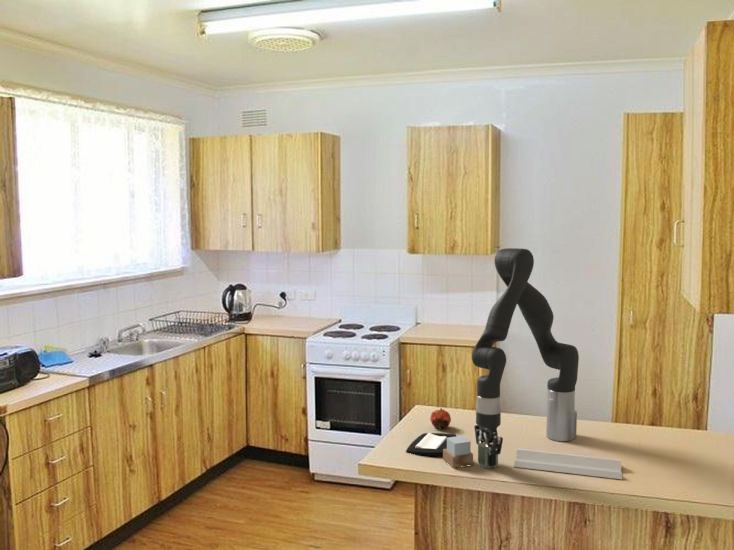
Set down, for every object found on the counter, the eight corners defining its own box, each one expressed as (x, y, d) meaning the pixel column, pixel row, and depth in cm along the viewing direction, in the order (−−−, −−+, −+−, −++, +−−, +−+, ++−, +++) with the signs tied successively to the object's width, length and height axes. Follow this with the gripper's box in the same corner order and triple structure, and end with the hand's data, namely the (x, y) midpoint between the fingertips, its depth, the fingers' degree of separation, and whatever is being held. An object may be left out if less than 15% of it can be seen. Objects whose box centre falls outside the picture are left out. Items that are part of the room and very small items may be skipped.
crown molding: (514, 469, 203) (514, 458, 202) (518, 455, 214) (518, 445, 214) (621, 481, 193) (622, 470, 192) (620, 466, 204) (620, 455, 203)
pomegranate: (450, 437, 235) (455, 414, 242) (445, 425, 231) (450, 402, 238) (431, 436, 238) (435, 414, 245) (425, 425, 234) (430, 402, 241)
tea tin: (490, 461, 207) (490, 439, 207) (498, 466, 203) (498, 444, 202) (477, 463, 206) (477, 441, 205) (485, 469, 201) (485, 446, 201)
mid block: (462, 447, 209) (462, 435, 209) (470, 453, 204) (470, 441, 204) (446, 449, 208) (446, 437, 207) (454, 456, 202) (454, 443, 202)
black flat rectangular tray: (421, 429, 233) (459, 431, 227) (422, 437, 233) (460, 439, 228) (402, 448, 215) (442, 450, 209) (402, 457, 215) (443, 459, 210)
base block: (462, 458, 211) (462, 446, 211) (472, 466, 204) (473, 454, 204) (442, 461, 209) (443, 449, 208) (452, 469, 202) (452, 457, 202)
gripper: (511, 415, 197) (510, 469, 199) (487, 401, 210) (487, 453, 212) (489, 418, 194) (488, 473, 196) (466, 404, 208) (466, 456, 210)
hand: (487, 462), depth 204 cm, fingers closed on tea tin, 4 cm apart
